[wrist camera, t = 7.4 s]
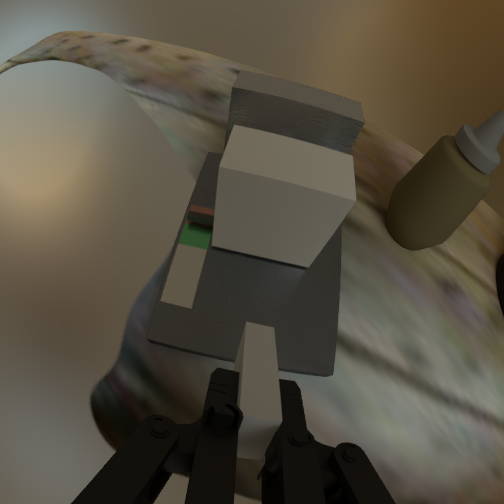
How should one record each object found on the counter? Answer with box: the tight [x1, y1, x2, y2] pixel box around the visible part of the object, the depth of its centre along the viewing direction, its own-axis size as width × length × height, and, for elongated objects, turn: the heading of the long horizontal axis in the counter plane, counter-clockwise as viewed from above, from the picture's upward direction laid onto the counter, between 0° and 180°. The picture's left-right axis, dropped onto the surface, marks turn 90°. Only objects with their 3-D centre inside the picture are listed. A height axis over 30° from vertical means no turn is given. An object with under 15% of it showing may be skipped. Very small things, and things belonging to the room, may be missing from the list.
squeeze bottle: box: [386, 110, 504, 250], centre depth 23 cm, size 8×8×18 cm
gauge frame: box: [146, 70, 365, 377], centre depth 21 cm, size 14×19×12 cm
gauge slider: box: [187, 125, 356, 268], centre depth 22 cm, size 10×7×9 cm, turn 80°
